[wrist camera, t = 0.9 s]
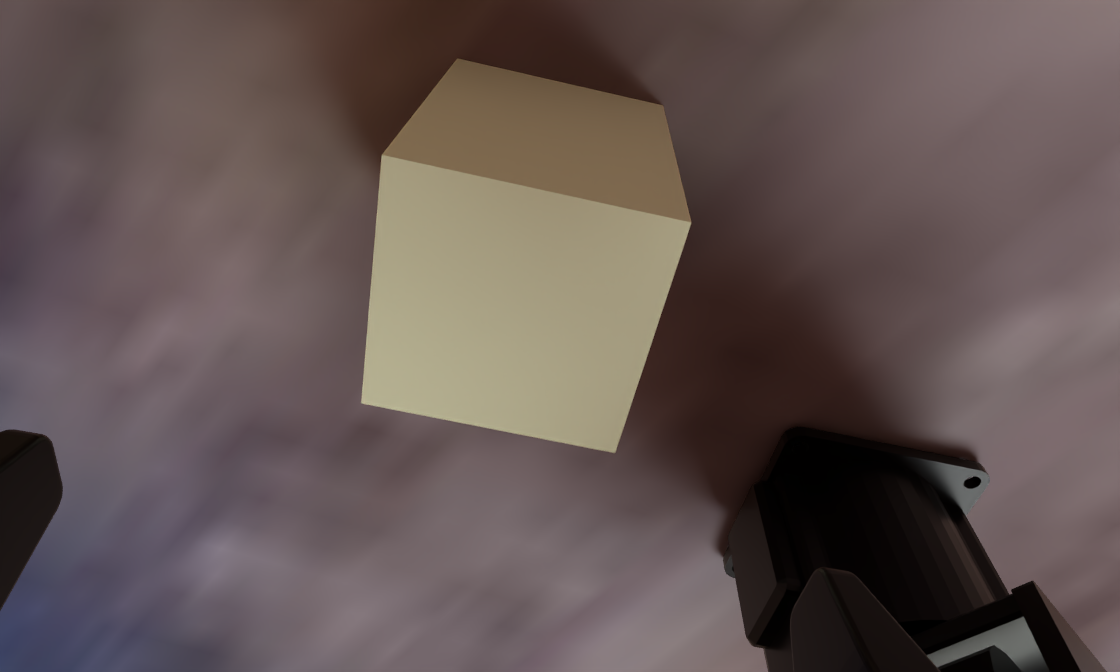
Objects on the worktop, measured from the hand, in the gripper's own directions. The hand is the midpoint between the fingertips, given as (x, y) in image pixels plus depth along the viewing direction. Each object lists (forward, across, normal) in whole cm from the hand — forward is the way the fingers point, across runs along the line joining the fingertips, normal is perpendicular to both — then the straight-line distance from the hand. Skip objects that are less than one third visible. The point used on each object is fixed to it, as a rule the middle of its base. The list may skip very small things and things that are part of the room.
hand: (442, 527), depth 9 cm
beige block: (+12, 0, 0) cm, 12 cm away
